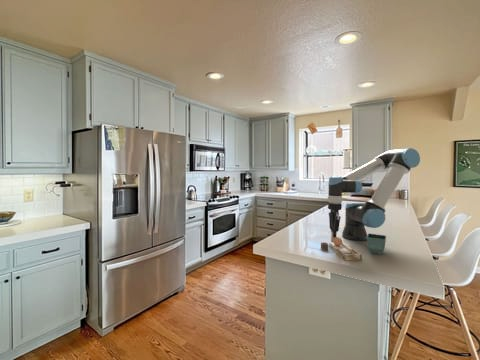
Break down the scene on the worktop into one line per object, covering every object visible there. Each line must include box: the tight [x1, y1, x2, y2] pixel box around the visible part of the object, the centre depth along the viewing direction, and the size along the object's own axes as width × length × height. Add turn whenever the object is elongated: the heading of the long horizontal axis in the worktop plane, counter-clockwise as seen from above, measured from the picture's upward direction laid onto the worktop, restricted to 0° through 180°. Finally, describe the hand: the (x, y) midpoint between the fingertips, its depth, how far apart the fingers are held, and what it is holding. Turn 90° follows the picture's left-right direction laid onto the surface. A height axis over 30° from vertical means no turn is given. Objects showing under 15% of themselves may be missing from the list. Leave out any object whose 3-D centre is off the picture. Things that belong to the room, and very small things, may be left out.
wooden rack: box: [335, 248, 363, 261], centre depth 127 cm, size 9×9×3 cm
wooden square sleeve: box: [320, 241, 329, 251], centre depth 138 cm, size 3×3×4 cm
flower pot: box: [366, 232, 387, 255], centre depth 133 cm, size 9×9×9 cm
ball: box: [332, 236, 343, 246], centre depth 142 cm, size 5×5×5 cm
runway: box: [328, 242, 353, 254], centre depth 137 cm, size 8×12×2 cm, turn 0°
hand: (333, 241), depth 146 cm, fingers closed
